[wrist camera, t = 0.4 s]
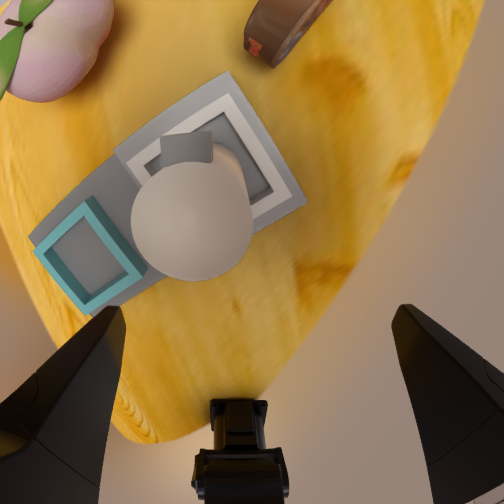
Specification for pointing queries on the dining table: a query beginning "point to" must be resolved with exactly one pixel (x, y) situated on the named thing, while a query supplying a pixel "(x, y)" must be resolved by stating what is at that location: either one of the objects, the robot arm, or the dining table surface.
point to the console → (131, 181)
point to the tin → (279, 27)
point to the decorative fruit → (50, 45)
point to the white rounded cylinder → (193, 209)
